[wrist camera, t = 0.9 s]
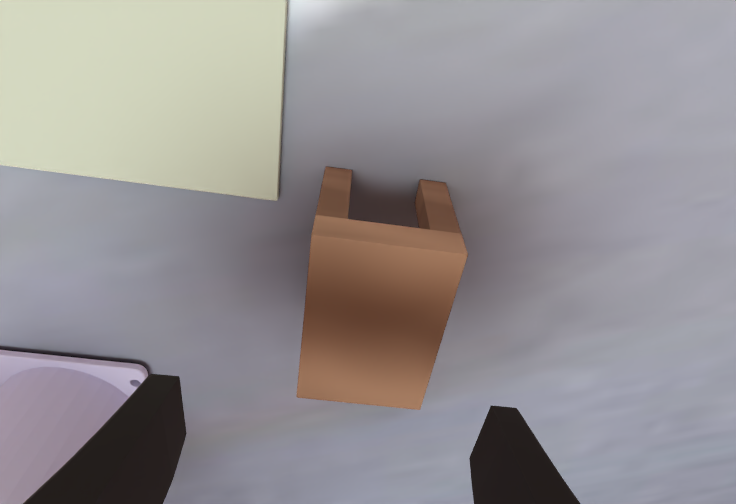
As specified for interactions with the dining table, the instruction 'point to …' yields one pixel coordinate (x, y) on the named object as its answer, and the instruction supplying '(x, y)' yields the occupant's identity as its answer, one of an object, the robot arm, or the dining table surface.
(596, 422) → the dining table surface
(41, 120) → the mat
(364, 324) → the stool
